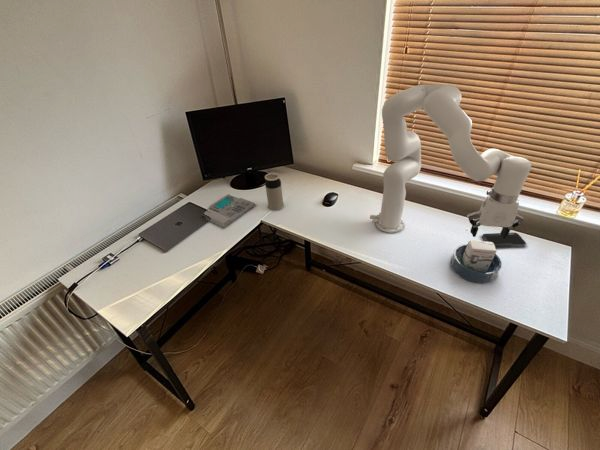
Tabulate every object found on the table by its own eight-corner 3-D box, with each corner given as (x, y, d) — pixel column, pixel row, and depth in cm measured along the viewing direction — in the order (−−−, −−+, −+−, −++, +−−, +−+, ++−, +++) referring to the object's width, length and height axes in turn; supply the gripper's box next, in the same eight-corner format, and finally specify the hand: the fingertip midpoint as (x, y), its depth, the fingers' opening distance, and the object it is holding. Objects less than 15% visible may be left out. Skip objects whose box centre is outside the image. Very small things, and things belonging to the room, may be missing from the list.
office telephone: (223, 224, 147) (196, 212, 156) (224, 229, 148) (197, 216, 158) (255, 201, 161) (228, 190, 170) (255, 205, 163) (229, 194, 172)
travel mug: (283, 210, 158) (279, 179, 146) (267, 210, 158) (263, 180, 147) (283, 201, 164) (280, 171, 153) (269, 202, 164) (264, 172, 153)
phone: (481, 233, 133) (516, 232, 132) (481, 235, 133) (515, 234, 133) (490, 246, 127) (527, 244, 126) (489, 248, 127) (526, 246, 127)
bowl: (454, 281, 115) (458, 271, 111) (447, 252, 127) (450, 242, 124) (502, 286, 112) (507, 276, 108) (489, 255, 124) (494, 245, 121)
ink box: (462, 270, 118) (471, 248, 111) (460, 261, 122) (468, 239, 115) (486, 273, 116) (497, 250, 109) (483, 263, 120) (493, 241, 113)
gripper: (478, 200, 97) (464, 240, 107) (539, 202, 94) (518, 244, 104) (472, 187, 103) (459, 227, 113) (529, 190, 99) (510, 230, 110)
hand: (487, 235), depth 109 cm, fingers open, 9 cm apart
